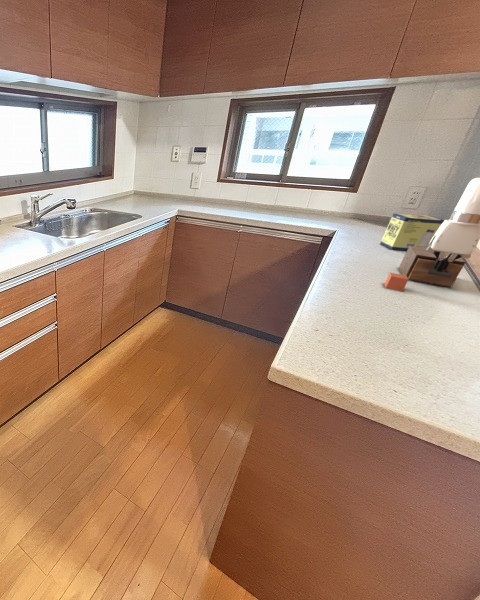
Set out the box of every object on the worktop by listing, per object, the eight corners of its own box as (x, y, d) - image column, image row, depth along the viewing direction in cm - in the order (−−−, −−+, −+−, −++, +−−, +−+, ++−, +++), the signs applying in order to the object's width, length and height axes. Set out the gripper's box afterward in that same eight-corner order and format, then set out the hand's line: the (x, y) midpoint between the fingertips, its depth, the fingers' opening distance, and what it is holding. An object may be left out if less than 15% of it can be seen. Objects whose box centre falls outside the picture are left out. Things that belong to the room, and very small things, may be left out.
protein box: (378, 243, 165) (392, 213, 158) (415, 246, 162) (431, 215, 155) (390, 249, 156) (405, 217, 149) (429, 253, 153) (446, 220, 146)
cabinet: (450, 287, 116) (465, 262, 111) (404, 279, 122) (416, 254, 118) (440, 275, 126) (454, 251, 122) (398, 268, 133) (409, 245, 129)
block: (400, 287, 115) (406, 275, 113) (402, 291, 112) (408, 279, 110) (384, 284, 117) (389, 272, 115) (385, 288, 114) (391, 276, 112)
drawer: (455, 291, 110) (468, 269, 107) (410, 283, 116) (421, 262, 113) (441, 275, 124) (452, 255, 120) (402, 268, 130) (412, 249, 126)
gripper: (496, 220, 104) (464, 273, 112) (433, 213, 112) (407, 263, 120) (505, 224, 98) (471, 279, 107) (438, 216, 106) (410, 269, 114)
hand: (437, 270), depth 113 cm, fingers closed
